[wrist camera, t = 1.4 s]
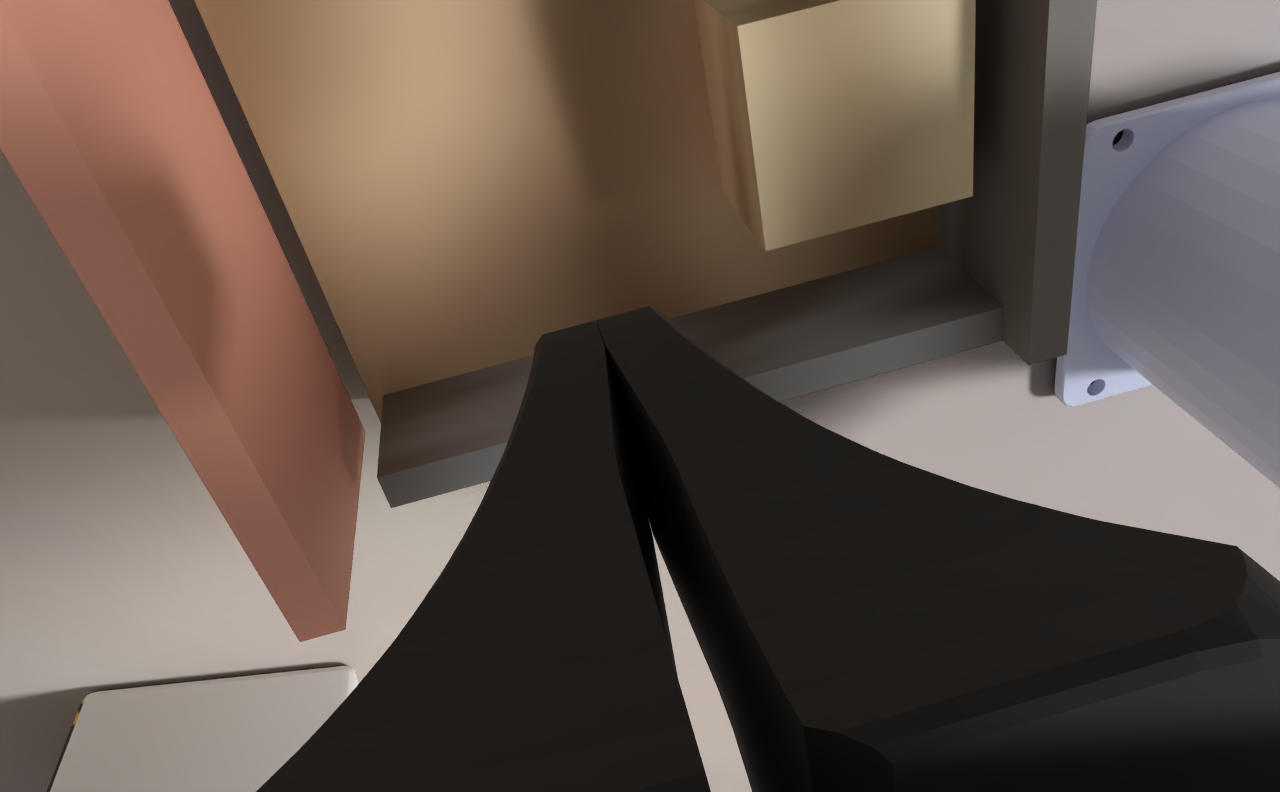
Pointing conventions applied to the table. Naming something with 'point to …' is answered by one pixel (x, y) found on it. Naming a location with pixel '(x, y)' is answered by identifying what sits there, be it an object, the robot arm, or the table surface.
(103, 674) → the table surface
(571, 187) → the trailer
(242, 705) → the medicine bottle
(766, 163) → the beige square block
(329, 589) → the panel
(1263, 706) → the robot arm
